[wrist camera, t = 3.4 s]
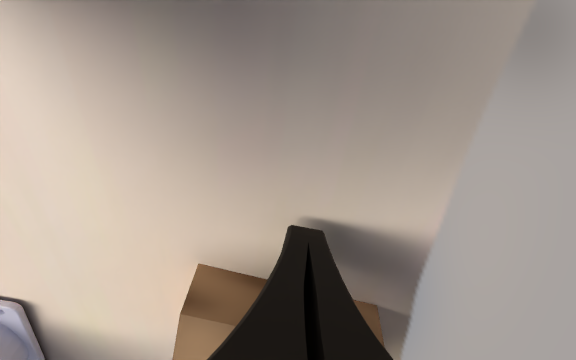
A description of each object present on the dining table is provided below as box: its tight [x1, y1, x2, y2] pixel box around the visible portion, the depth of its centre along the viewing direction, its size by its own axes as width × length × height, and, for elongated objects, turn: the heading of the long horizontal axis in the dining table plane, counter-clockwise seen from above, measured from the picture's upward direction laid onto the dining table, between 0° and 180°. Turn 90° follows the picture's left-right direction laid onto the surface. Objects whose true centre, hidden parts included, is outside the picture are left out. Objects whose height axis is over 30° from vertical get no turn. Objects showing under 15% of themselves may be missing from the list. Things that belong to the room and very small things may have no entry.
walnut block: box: [173, 264, 385, 360], centre depth 17 cm, size 9×6×3 cm, turn 74°
